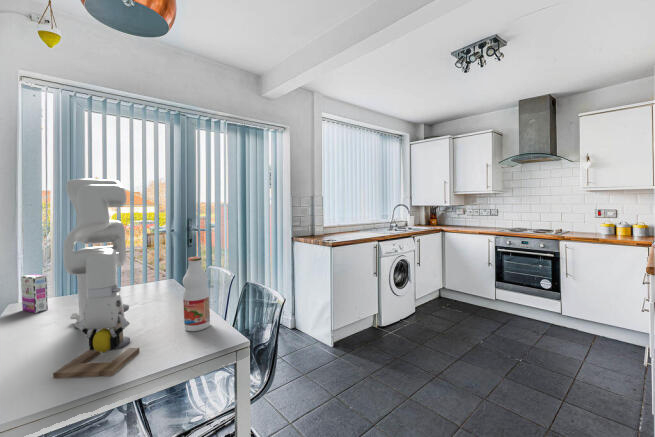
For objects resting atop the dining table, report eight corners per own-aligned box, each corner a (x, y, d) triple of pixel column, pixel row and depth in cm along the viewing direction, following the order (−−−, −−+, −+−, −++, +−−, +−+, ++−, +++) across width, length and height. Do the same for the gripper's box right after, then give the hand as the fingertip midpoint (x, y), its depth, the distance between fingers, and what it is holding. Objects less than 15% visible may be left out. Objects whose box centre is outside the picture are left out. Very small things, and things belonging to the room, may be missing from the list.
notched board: (53, 378, 85) (52, 373, 85) (89, 353, 99) (89, 349, 99) (111, 376, 86) (111, 370, 86) (139, 351, 100) (139, 347, 100)
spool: (96, 350, 101) (95, 312, 100) (112, 339, 109) (110, 304, 108) (121, 349, 102) (119, 312, 101) (135, 339, 110) (133, 304, 109)
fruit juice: (215, 325, 121) (212, 256, 120) (194, 333, 113) (191, 260, 112) (200, 321, 126) (197, 254, 125) (179, 329, 118) (176, 258, 117)
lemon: (118, 348, 98) (117, 324, 97) (108, 356, 92) (107, 331, 92) (100, 349, 97) (99, 325, 97) (88, 358, 92) (87, 332, 91)
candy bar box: (49, 310, 141) (47, 275, 140) (35, 313, 136) (33, 277, 135) (35, 307, 145) (33, 273, 144) (21, 310, 140) (19, 275, 139)
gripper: (137, 287, 98) (139, 341, 99) (82, 289, 97) (85, 343, 98) (123, 294, 91) (125, 353, 92) (63, 296, 90) (66, 355, 91)
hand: (104, 347), depth 95 cm, fingers closed on lemon, 5 cm apart
